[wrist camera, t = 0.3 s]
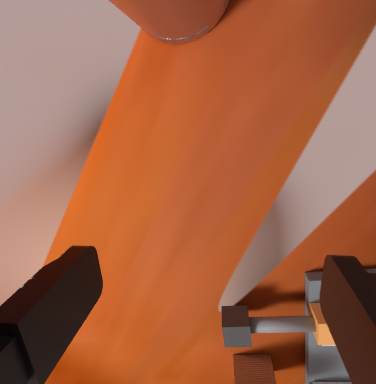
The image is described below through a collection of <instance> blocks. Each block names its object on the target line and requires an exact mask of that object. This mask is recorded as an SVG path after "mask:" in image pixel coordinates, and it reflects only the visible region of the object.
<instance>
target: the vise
mask: <svg viewBox="0 0 376 384" xmlns="http://www.w3.org/2000/svg"><path fill="white" fill-rule="evenodd" d="M365 270H366V271H367V272H368V273H375V274H376V268H375V269H365ZM322 274H323V271H321V272H305V316H309V303H320V288H321V281H322ZM305 384H352V382H351V380H350V378H349V375H348V373H347V371H346V368H345V366H344V364H343V361H342V359H341V356H340V354H339V352H338V349H337V347H336V346H322V345H318V344H317V341H316V338H315V336H314V333H313V332H305Z"/></svg>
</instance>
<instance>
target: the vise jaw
mask: <svg viewBox="0 0 376 384" xmlns="http://www.w3.org/2000/svg"><path fill="white" fill-rule="evenodd" d="M222 330H223V337H224V344H225V347H252V342H251V333H276V332H313V333H314V336H315V338H316V341H317V344H318V345H322V346H336V345H335V342H334V340H333V338H332V335H331V333H330V331H329V328H328V326H327V324H326V321H325V319H324V317H323V314H322V311H321V307H320V303H309V316H279V317H249V316H248V308H247V305H245V306H222Z"/></svg>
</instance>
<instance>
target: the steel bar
mask: <svg viewBox="0 0 376 384" xmlns="http://www.w3.org/2000/svg"><path fill="white" fill-rule="evenodd" d="M233 359H234V376H235V384H276V380H275V375H274V370H273V365H272V360H271V355H270V354H233Z"/></svg>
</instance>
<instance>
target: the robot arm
mask: <svg viewBox="0 0 376 384" xmlns="http://www.w3.org/2000/svg"><path fill="white" fill-rule="evenodd" d="M109 1H110V2H112V3H113V4H114V5H115V6H116V7H117V8H119V9H120V10H121V11H122V12H123V13H124V14H126V15H127V16H128V17H129V18H130V19H131V20H132V21H134V22H135V23H136V24H137V25H138V26H140V27H141V28H142V29H143V30H144V31H146V32H147V33H148V34H150V35H151V36H152V37H154V38H156V39H158V40H160V41H163V42H166V43H172V44H182V43H188V42H191V41H194V40H197V39H199V38H200V37H202V36H204V35H205V34H207V33H208V32H209V31H210V30H211V29H212V28H213V27H214V26H215V25H216V24H217V23H218V21H219V20H220V18H221V17H222V16H223V14H224V12H225V10H226V8H227V6H228V3H229V1H230V0H109ZM102 288H103V280H102V275H101V270H100V265H99V260H98V255H97V251H96V249H95V247H93V246H71V247H70V248H69V249H68V250H67V251H66V252H65V253H64V254H63V255H61V256H60V257H59V258H58V259H56V260H54V261H52V262H51V263H49V264H47V265H45V266H44V267H42V268H41V269H40V270H39V271H38V272H37V273H36V274H35V275H34V276H33V277H32V279H29V280H28V281H27V282H26V283H25V284H24V285H23V287H22V288H19V289H18V290H17V291H16V292H15V293H14V294H13V295H12V296H11V297H10V298H9V299H7V300H6V301H5V302H4V303H3V304H2V305H1V306H0V384H44V383H45V382H46V380H47V378H48V377H49V375H50V374H51V372H52V371H53V369H54V368H55V366H56V365H57V363H58V361H59V360H60V358H61V357H62V355H63V354H64V352H65V351H66V349H67V347H68V346H69V344H70V343H71V341H72V340H73V338H74V337H75V335H76V333H77V332H78V330H79V329H80V327H81V326H82V324H83V323H84V321H85V320H86V318H87V316H88V315H89V313H90V312H91V310H92V309H93V307H94V306H95V304H96V302H97V301H98V299H99V298H100V295H101V293H102ZM320 307H321V311H322V314H323V317H324V319H325V321H326V324H327V326H328V328H329V331H330V333H331V335H332V338H333V340H334V342H335V345H336V347H337V349H338V352H339V354H340V356H341V359H342V361H343V364H344V366H345V368H346V371H347V373H348V375H349V378H350V380H351V382H352V384H376V274H375V273H368V272H367V271H366V270H365V268H364V267H363V266H362V265H361V263H360V262H359V261H358V259H357V258H356V257H354V256H340V255H327V256H326V258H325V261H324V267H323V274H322V281H321V288H320Z"/></svg>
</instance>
